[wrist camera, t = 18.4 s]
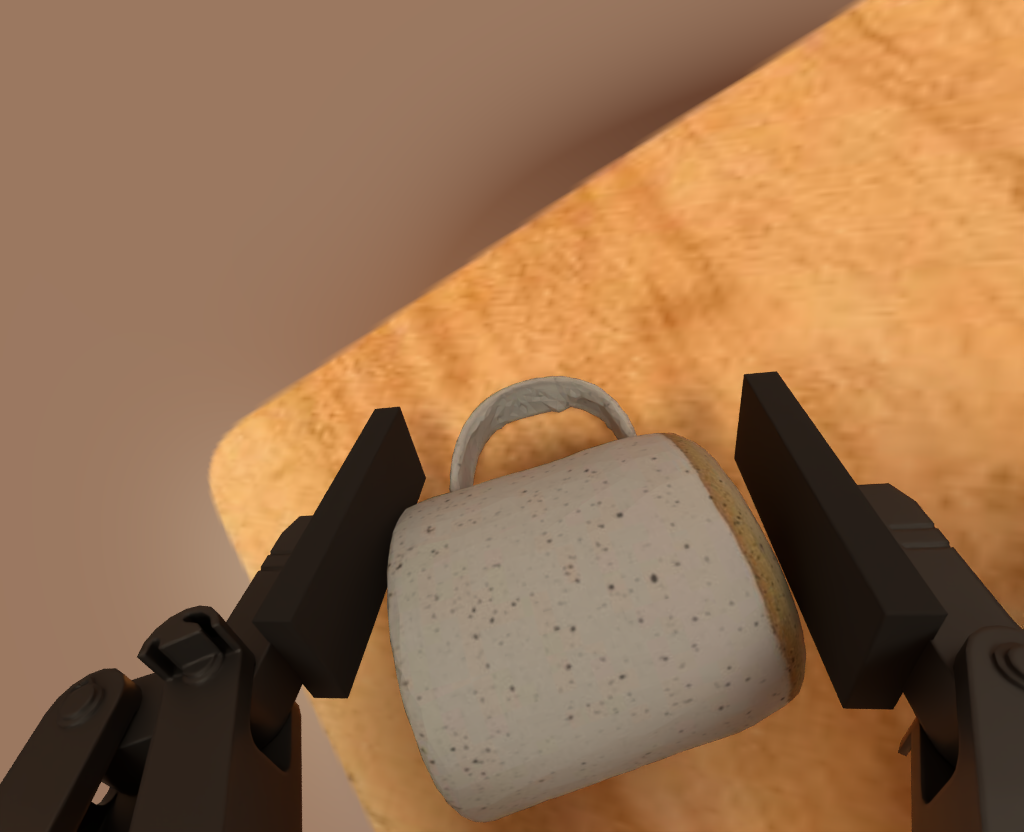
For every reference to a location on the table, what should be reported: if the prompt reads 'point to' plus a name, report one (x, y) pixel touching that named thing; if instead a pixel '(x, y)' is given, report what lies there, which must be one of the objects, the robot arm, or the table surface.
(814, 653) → the table surface
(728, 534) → the ceramic mug
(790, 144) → the table surface
